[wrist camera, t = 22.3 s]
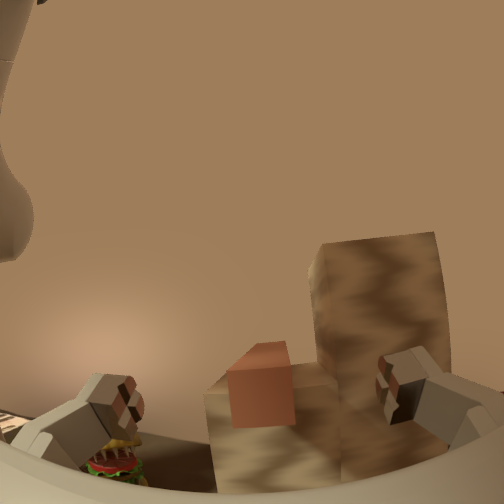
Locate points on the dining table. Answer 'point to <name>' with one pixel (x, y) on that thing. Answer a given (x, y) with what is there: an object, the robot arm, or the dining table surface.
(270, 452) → the stepped stand
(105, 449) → the hamburger
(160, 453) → the dining table surface
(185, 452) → the dining table surface
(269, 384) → the bar
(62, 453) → the robot arm
